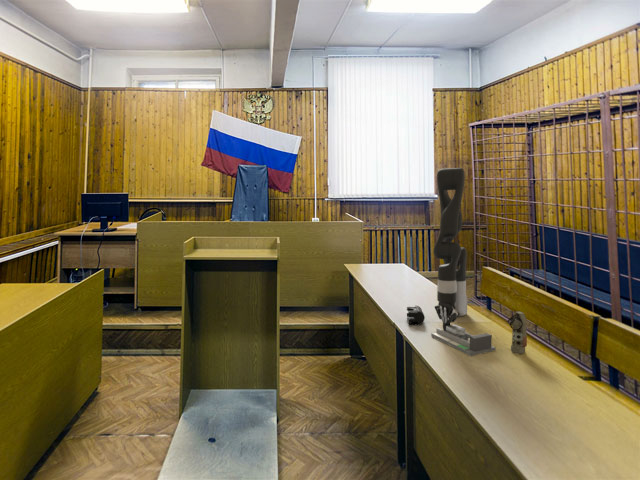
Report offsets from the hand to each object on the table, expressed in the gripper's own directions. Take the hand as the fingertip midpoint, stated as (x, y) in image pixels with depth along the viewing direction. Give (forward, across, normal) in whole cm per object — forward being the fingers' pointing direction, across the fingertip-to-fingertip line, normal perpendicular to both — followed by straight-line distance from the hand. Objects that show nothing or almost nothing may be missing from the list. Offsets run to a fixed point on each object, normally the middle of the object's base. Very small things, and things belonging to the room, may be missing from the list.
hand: (446, 330), depth 154 cm
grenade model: (+2, -25, -10) cm, 27 cm away
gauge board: (+2, -9, 0) cm, 9 cm away
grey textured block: (+1, -6, 0) cm, 6 cm away
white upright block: (+1, -16, 0) cm, 16 cm away
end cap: (+2, +20, +1) cm, 20 cm away
